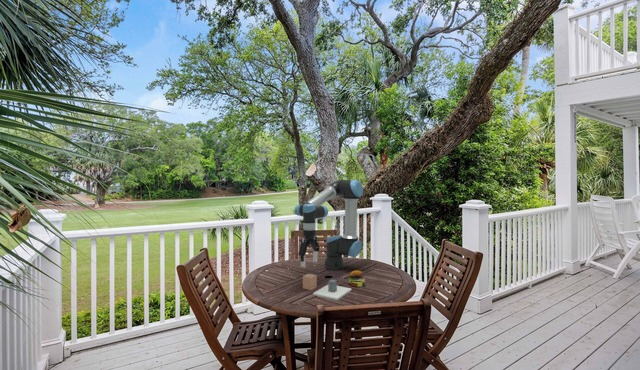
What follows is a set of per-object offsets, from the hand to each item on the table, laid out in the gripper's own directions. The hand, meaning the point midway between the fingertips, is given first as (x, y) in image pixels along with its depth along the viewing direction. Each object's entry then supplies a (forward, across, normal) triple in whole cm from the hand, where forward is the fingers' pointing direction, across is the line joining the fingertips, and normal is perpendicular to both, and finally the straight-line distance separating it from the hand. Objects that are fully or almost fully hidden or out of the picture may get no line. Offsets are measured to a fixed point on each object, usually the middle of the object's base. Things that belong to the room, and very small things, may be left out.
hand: (309, 264), depth 208 cm
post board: (+15, 0, +16) cm, 22 cm away
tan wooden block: (+15, 0, 0) cm, 15 cm away
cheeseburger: (+15, -20, +22) cm, 34 cm away
